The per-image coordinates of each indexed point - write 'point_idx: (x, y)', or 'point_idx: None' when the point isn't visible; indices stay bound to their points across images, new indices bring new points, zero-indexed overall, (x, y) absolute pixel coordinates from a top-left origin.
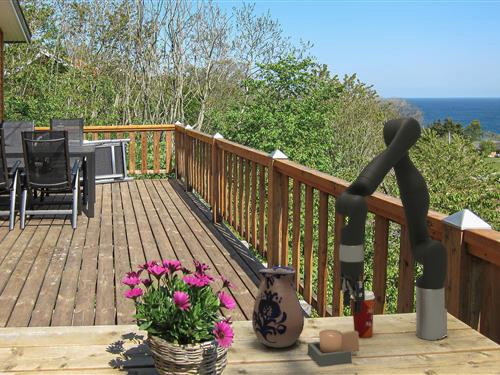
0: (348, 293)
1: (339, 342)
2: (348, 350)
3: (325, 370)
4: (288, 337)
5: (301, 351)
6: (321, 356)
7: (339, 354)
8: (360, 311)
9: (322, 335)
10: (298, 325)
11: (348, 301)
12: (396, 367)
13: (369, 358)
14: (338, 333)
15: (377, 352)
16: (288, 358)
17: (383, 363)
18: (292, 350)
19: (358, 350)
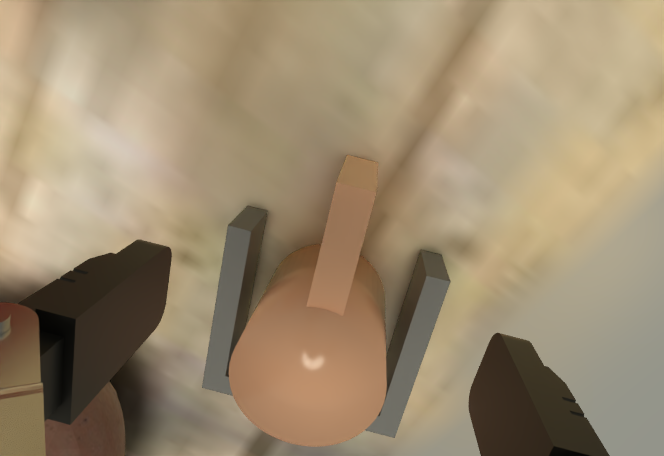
0: (51, 353)
1: (384, 341)
2: (424, 284)
3: (440, 400)
4: (122, 453)
5: (183, 359)
6: (396, 425)
7: (427, 342)
8: (548, 373)
9: (319, 443)
10: (77, 447)
11: (141, 291)
12: (660, 84)
13: (449, 133)
14: (343, 348)
15: (402, 24)
16: (234, 442)
17: (560, 111)
18: (154, 383)
19: (377, 164)
